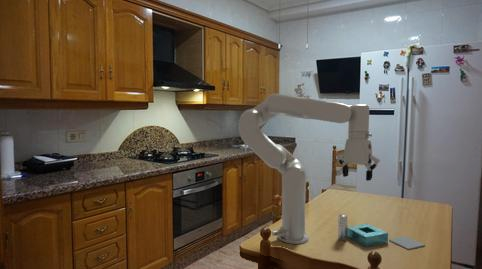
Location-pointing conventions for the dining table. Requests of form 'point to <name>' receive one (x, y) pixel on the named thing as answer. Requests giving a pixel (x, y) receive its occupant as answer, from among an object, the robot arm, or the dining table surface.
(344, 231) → the steel key rod
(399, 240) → the grey rubber mat
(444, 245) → the dining table surface
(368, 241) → the teal socket block
